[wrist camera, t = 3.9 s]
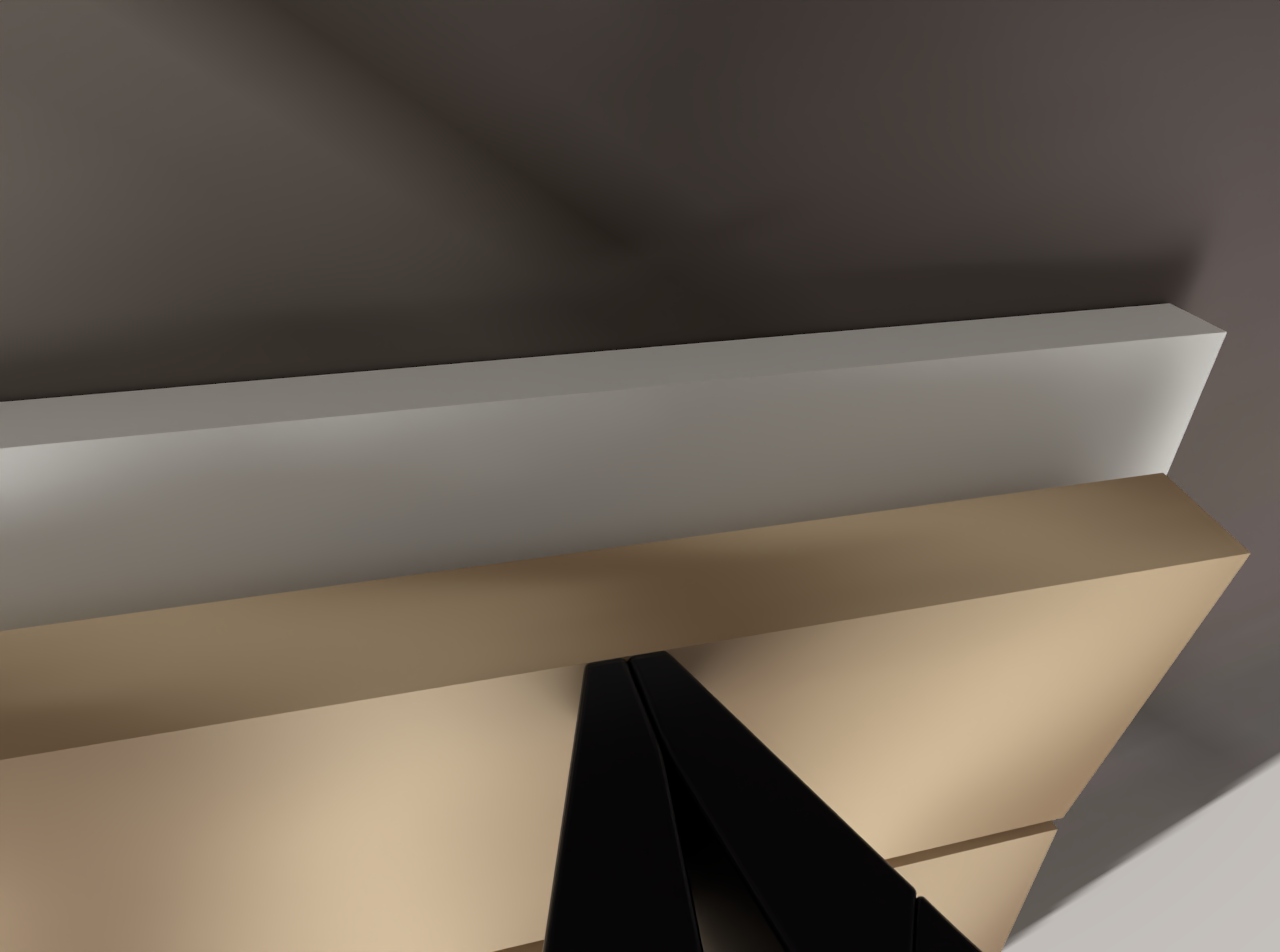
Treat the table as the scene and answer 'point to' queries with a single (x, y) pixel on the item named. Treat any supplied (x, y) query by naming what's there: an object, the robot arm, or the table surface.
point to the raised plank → (569, 714)
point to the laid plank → (968, 881)
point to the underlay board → (567, 453)
